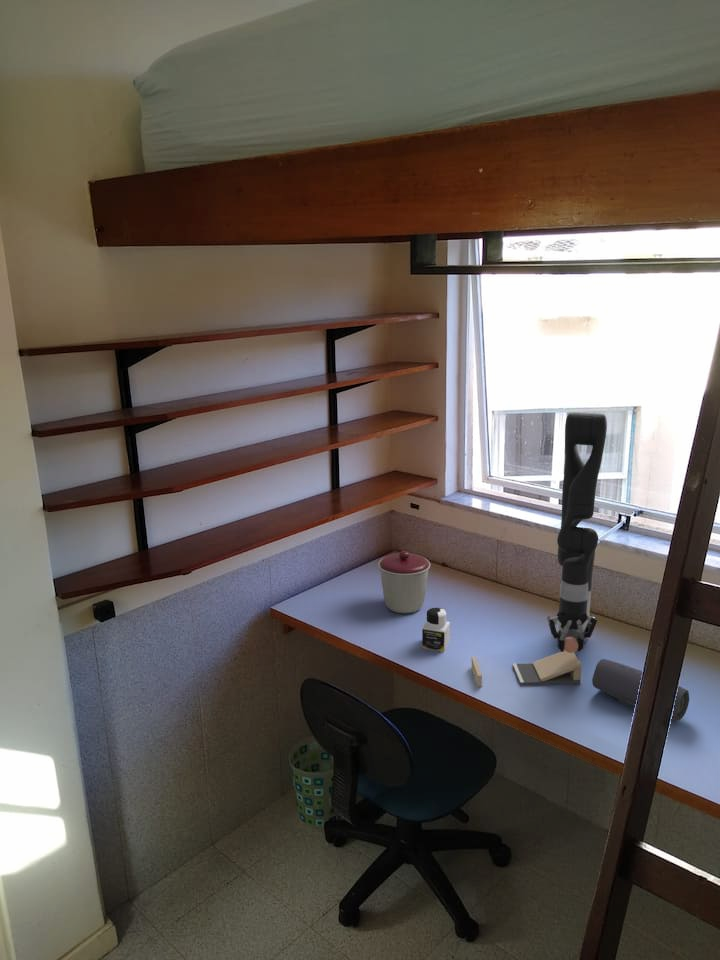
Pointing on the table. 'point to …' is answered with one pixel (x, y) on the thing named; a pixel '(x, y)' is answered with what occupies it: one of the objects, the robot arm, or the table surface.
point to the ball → (570, 644)
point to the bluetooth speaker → (630, 685)
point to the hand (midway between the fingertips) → (569, 649)
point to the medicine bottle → (436, 630)
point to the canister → (404, 581)
